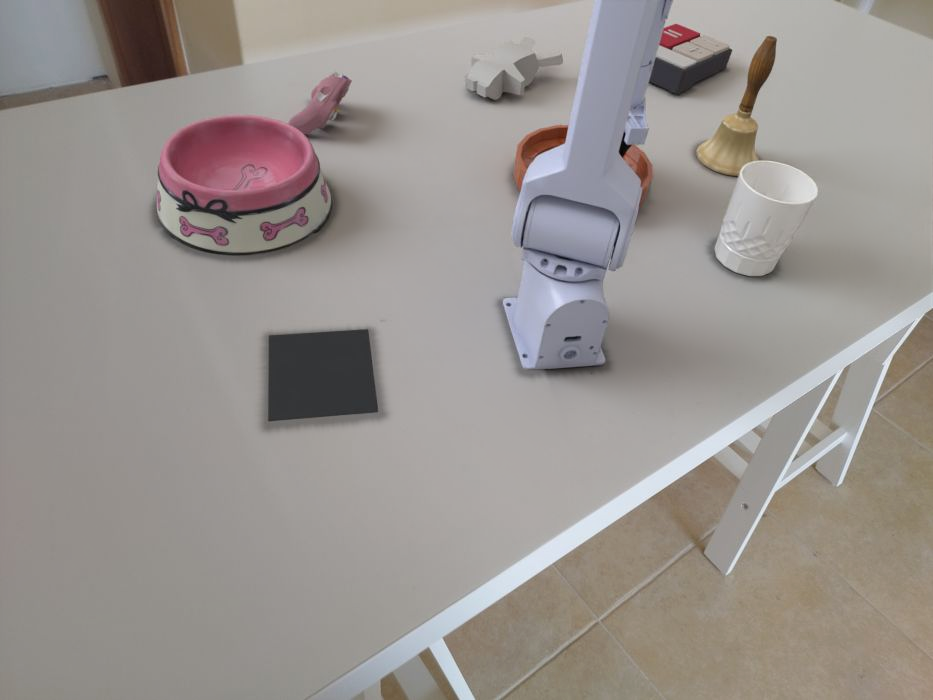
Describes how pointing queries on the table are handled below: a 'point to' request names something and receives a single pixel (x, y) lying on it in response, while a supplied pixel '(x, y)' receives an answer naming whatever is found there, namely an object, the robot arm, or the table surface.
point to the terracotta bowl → (557, 136)
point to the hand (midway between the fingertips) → (599, 167)
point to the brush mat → (320, 375)
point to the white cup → (763, 216)
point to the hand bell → (740, 121)
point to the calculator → (687, 58)
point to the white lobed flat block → (508, 68)
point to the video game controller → (322, 104)
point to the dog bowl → (240, 186)
